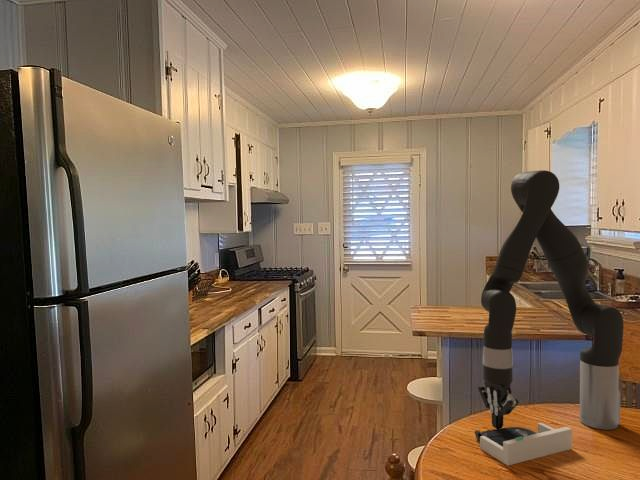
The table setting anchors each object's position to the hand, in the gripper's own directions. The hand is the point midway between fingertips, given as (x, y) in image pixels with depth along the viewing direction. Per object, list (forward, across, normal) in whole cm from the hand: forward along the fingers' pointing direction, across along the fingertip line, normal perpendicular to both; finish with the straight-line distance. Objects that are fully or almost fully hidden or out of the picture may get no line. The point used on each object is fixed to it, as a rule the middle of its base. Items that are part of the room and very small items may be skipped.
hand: (497, 427), depth 127 cm
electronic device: (+2, -6, +1) cm, 6 cm away
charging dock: (+1, -10, 0) cm, 10 cm away
